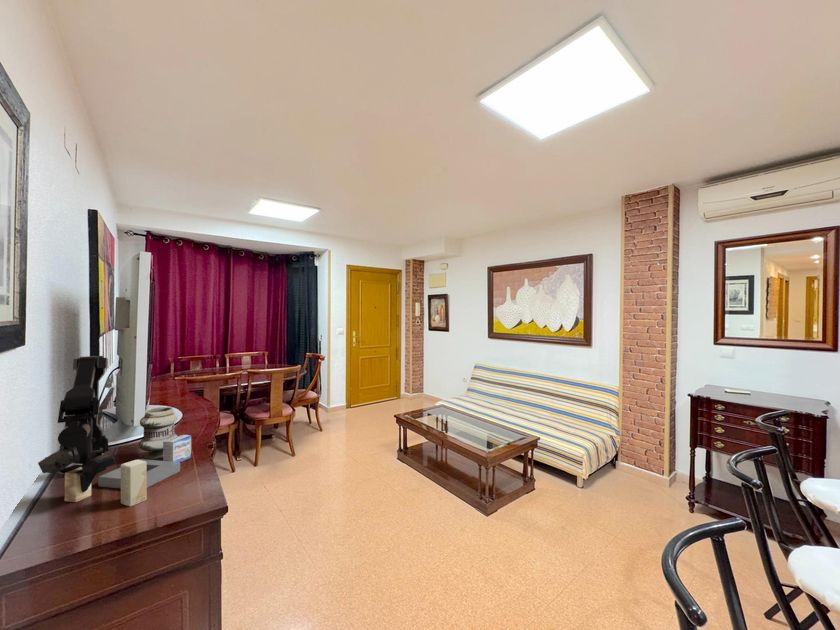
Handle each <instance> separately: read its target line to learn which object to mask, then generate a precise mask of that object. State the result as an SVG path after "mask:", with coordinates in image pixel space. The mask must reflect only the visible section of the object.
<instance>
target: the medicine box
mask: <svg viewBox="0 0 840 630" xmlns="http://www.w3.org/2000/svg"><path fill="white" fill-rule="evenodd" d="M177 436H178V435H177ZM191 458H192V435H189V434H181V435H179V436H178V437H175V438H172V439H169V440H167V441H164V442H163V460H162V461H170V462H181V463H184V462H185V461H187V460H189V459H191Z"/></svg>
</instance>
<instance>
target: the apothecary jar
mask: <svg viewBox="0 0 840 630" xmlns="http://www.w3.org/2000/svg"><path fill="white" fill-rule="evenodd" d="M178 419H179V415H178V414H177V413H176V412H174V408H173V407H172V406H160V407H154V408H153V407H152V408H150V409H147V410H146V411H145V413H144V416H142V418H140V420H139V425H140V426H141V427H142V428H143V436H142V439H141V440H140V441H139V443H138V448H139V449H140V450H142V451H144V452H149V453H148V454H146V455H144V456H143V457H142V458H141V459H144V460H157V461H163V460H162V459H163V442H164V441H167V440H169V439H172V438H175V437H178V435H177V434H176V433H175V423H176V422H177V421H178Z"/></svg>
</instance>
